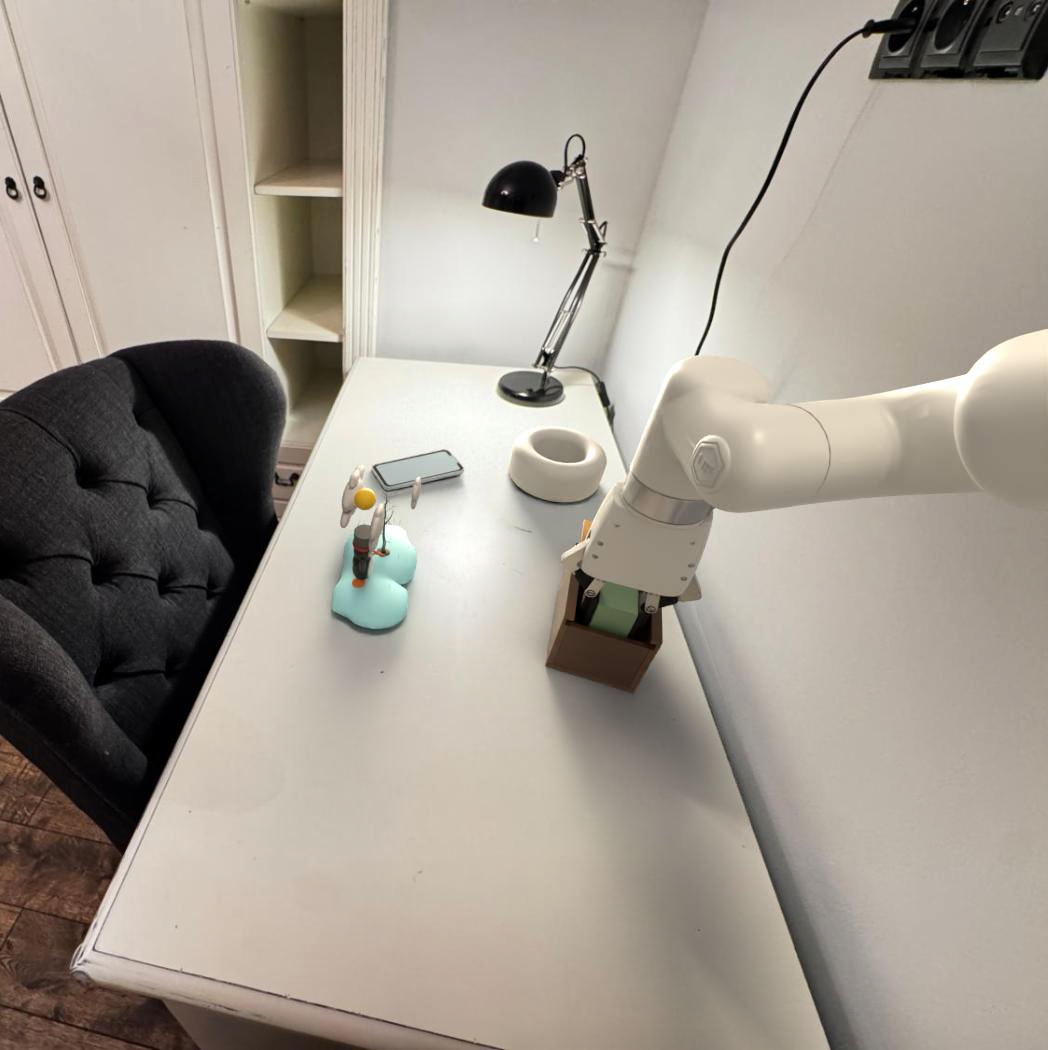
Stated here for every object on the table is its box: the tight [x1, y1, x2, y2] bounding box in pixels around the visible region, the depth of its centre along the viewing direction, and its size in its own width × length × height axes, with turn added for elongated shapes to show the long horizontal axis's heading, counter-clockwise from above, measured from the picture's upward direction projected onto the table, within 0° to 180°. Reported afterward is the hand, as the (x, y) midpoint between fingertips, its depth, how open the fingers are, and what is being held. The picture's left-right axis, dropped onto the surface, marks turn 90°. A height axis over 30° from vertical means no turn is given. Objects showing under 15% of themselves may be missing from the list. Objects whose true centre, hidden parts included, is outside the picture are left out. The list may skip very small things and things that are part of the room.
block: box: [589, 582, 638, 638], centre depth 64 cm, size 4×4×4 cm
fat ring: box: [508, 425, 608, 503], centre depth 96 cm, size 15×15×7 cm
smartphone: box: [371, 448, 465, 491], centre depth 99 cm, size 7×1×15 cm
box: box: [544, 541, 664, 694], centre depth 69 cm, size 13×10×9 cm
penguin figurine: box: [330, 463, 422, 630], centre depth 75 cm, size 20×11×15 cm, turn 167°
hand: (608, 619), depth 65 cm, fingers closed on block, 4 cm apart
